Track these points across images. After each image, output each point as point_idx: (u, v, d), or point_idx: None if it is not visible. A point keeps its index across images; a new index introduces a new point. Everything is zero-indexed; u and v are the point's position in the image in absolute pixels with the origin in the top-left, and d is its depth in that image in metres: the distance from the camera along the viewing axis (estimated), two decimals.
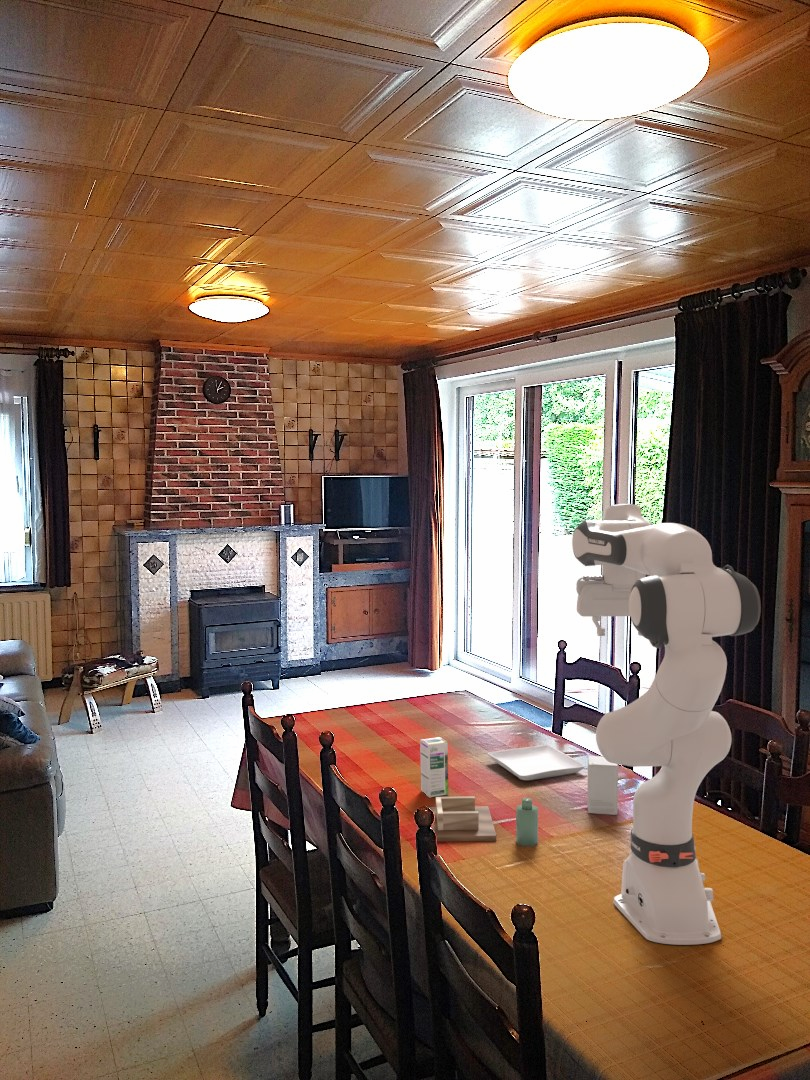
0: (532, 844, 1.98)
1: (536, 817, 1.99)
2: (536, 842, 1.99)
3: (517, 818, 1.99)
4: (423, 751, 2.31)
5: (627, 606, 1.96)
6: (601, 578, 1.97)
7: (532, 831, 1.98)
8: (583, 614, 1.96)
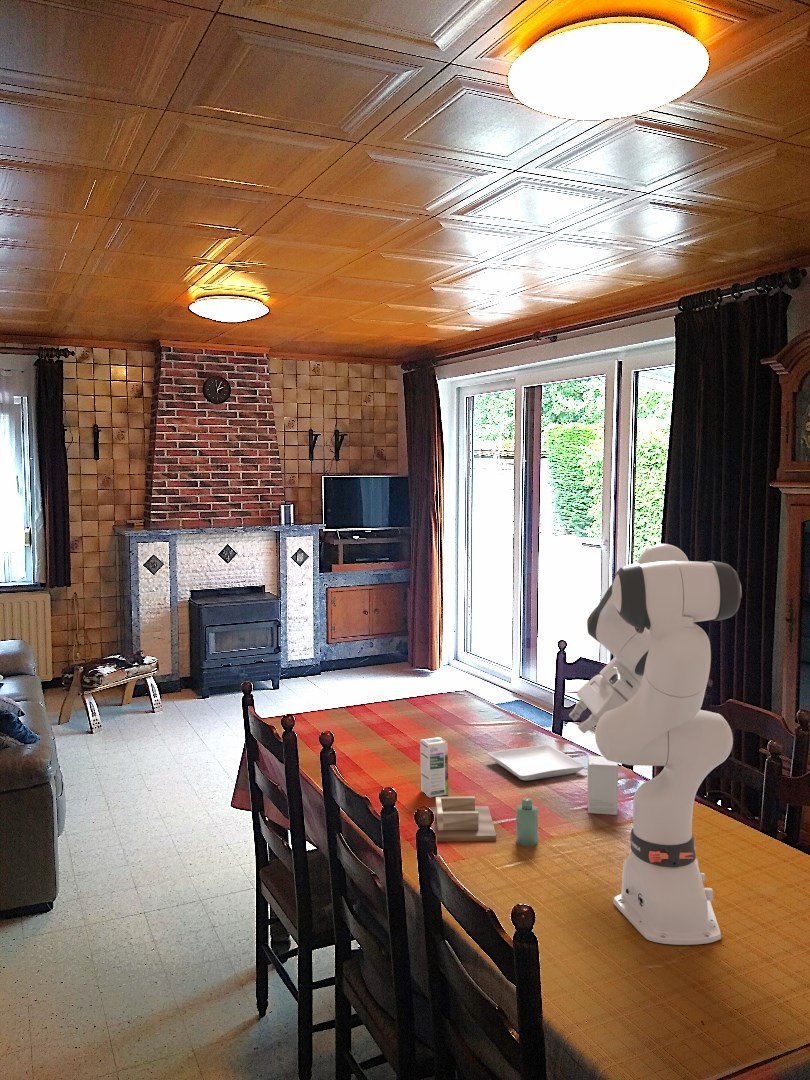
0: (532, 844, 1.98)
1: (536, 817, 1.99)
2: (536, 842, 1.99)
3: (517, 818, 1.99)
4: (423, 751, 2.31)
5: (592, 698, 1.98)
6: None
7: (532, 831, 1.98)
8: None
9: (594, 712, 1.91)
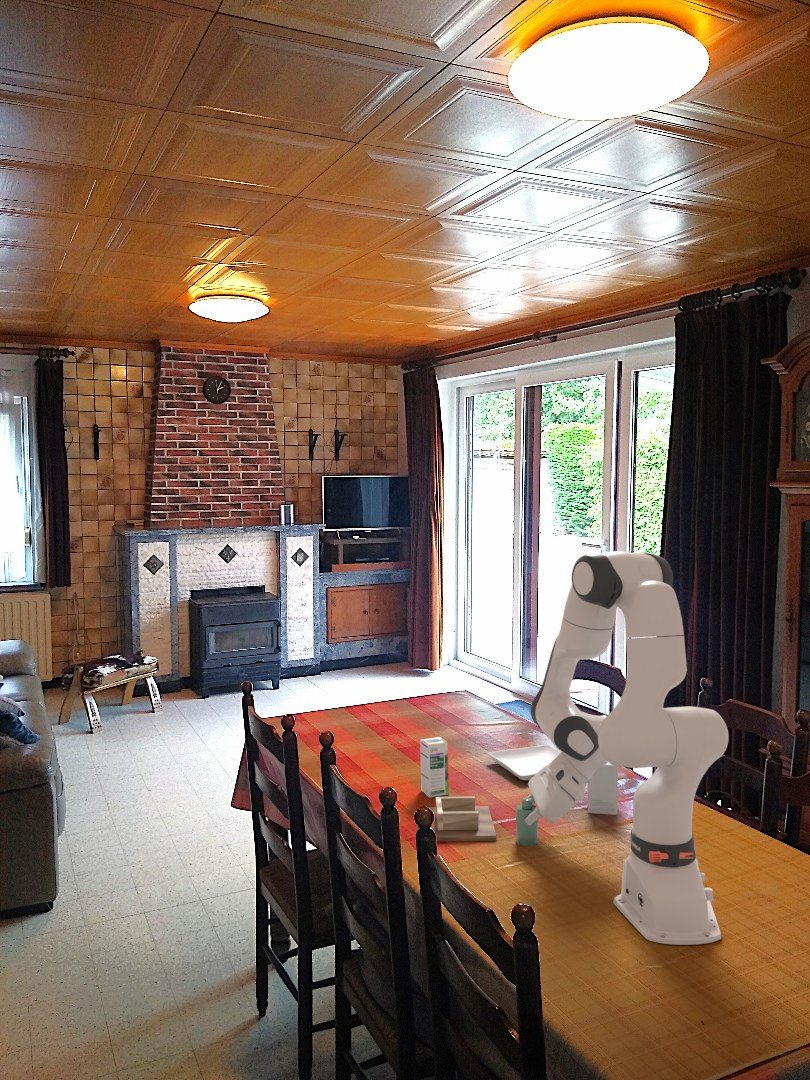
0: (532, 844, 1.98)
1: None
2: (536, 842, 1.99)
3: (517, 818, 1.99)
4: (423, 751, 2.31)
5: (540, 791, 1.99)
6: None
7: (532, 830, 1.98)
8: None
9: (539, 809, 1.92)
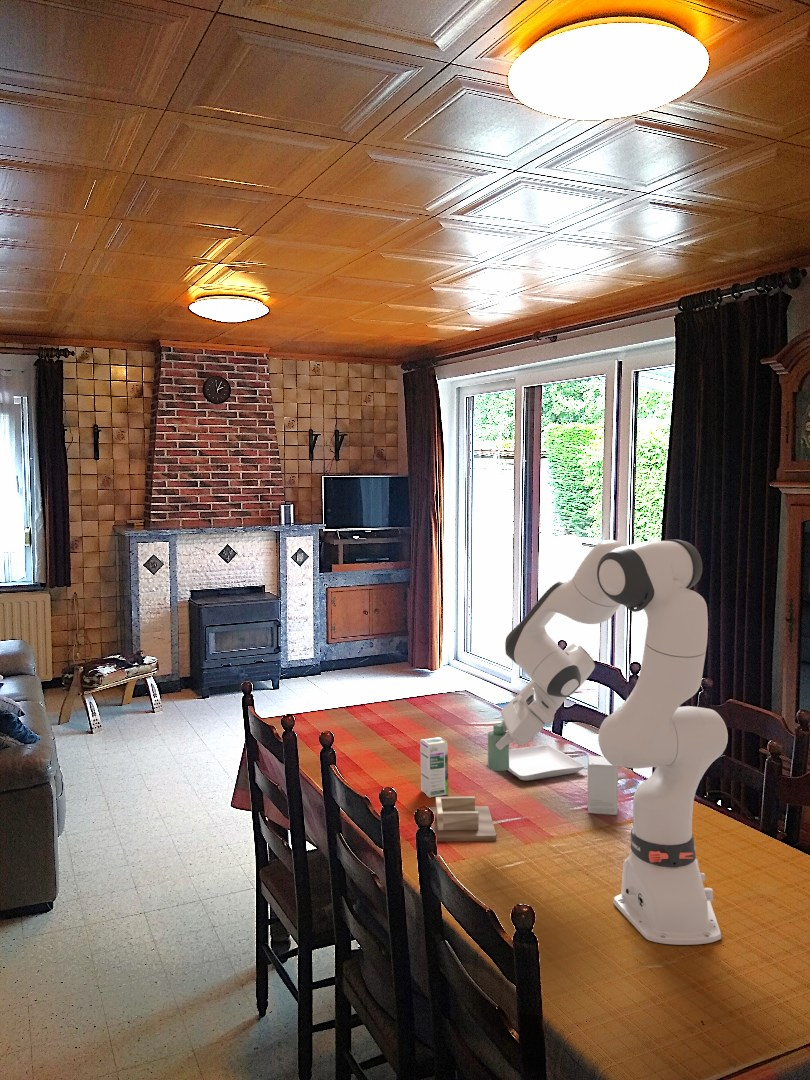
0: (503, 768, 2.02)
1: None
2: (507, 767, 2.02)
3: (488, 743, 2.03)
4: (423, 751, 2.31)
5: (511, 717, 2.02)
6: None
7: (503, 755, 2.01)
8: None
9: (509, 732, 1.95)
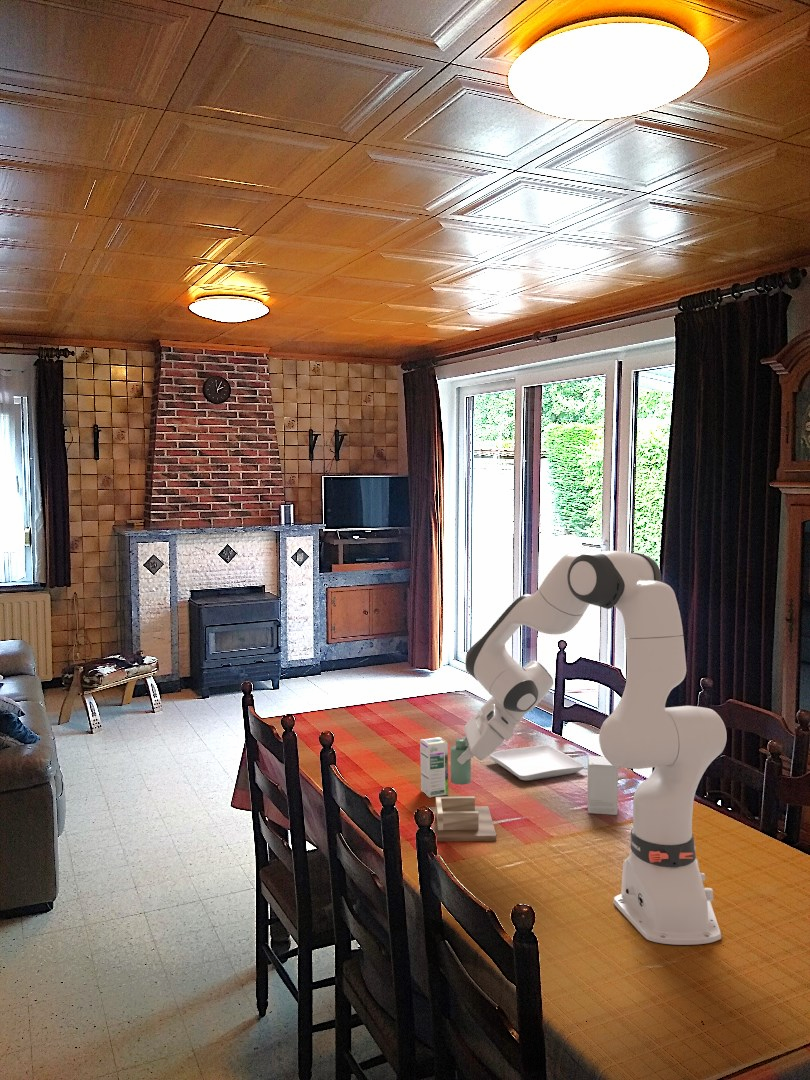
0: (465, 782, 2.07)
1: None
2: (469, 781, 2.08)
3: (451, 758, 2.08)
4: (423, 751, 2.31)
5: (473, 733, 2.08)
6: None
7: (465, 769, 2.07)
8: None
9: (470, 747, 2.01)
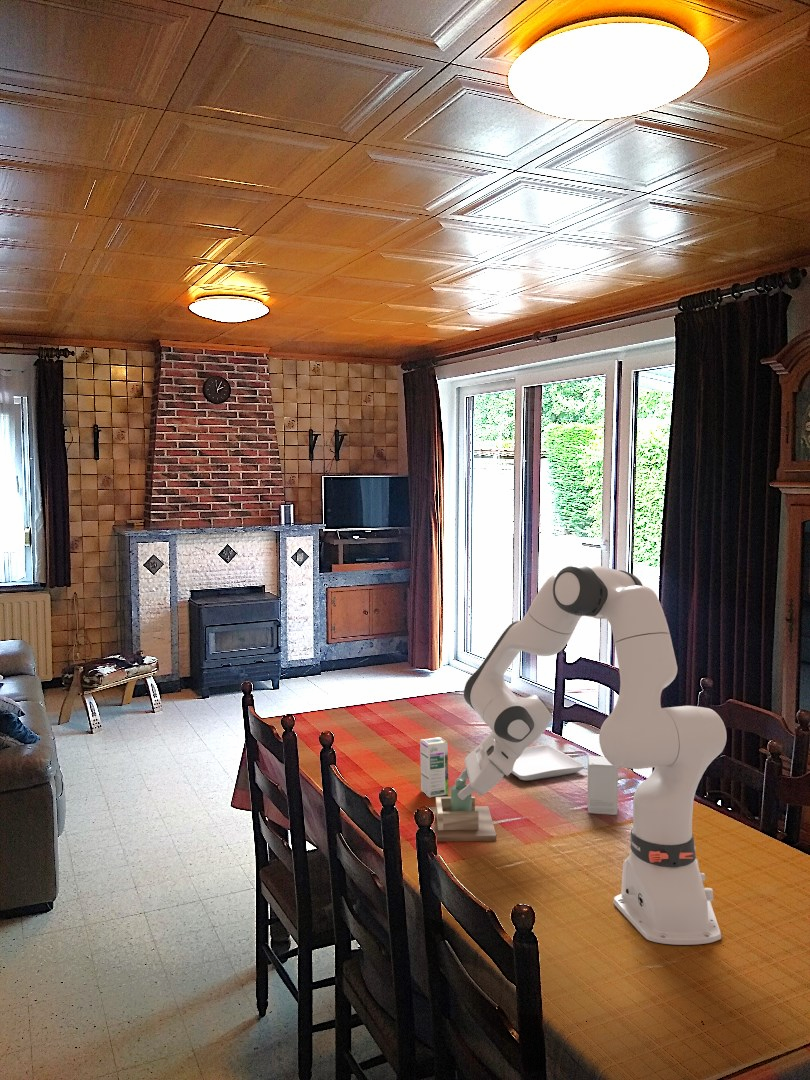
0: None
1: (469, 796, 2.09)
2: None
3: (451, 797, 2.09)
4: (423, 751, 2.31)
5: (473, 767, 2.09)
6: None
7: (465, 809, 2.08)
8: (465, 759, 2.19)
9: (470, 782, 2.02)
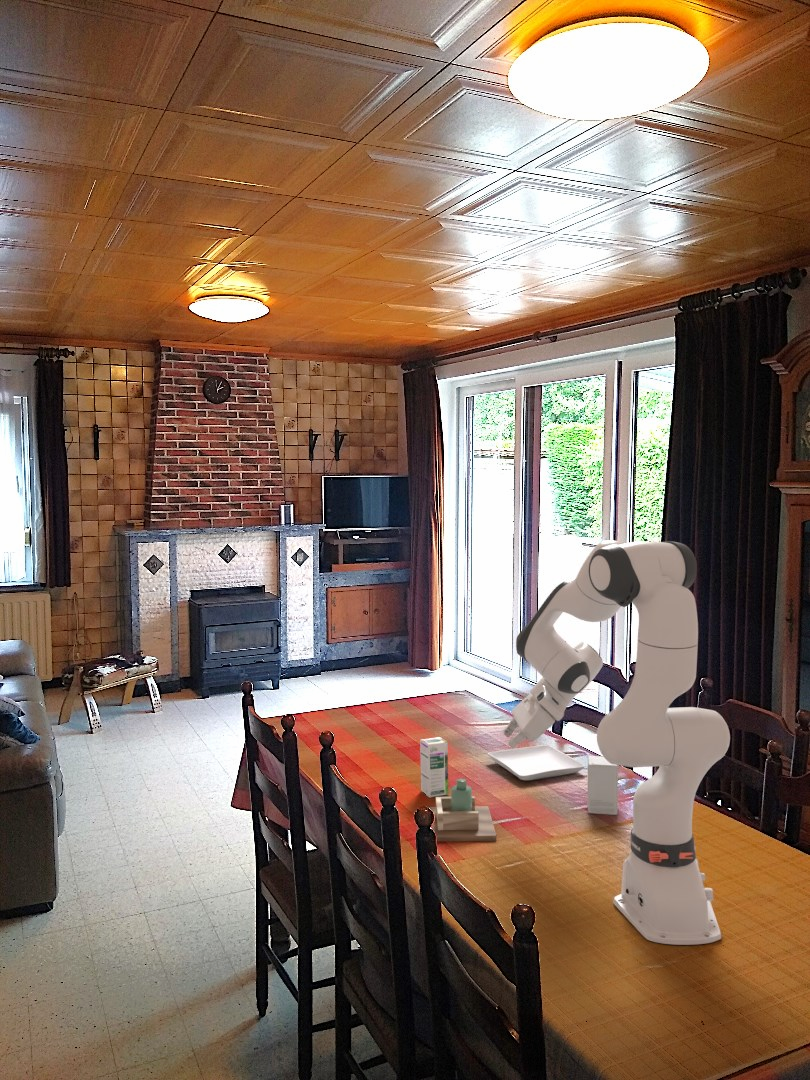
0: None
1: (470, 797, 2.08)
2: None
3: (452, 798, 2.09)
4: (423, 751, 2.31)
5: (522, 715, 2.08)
6: None
7: (466, 810, 2.08)
8: None
9: (521, 728, 2.01)
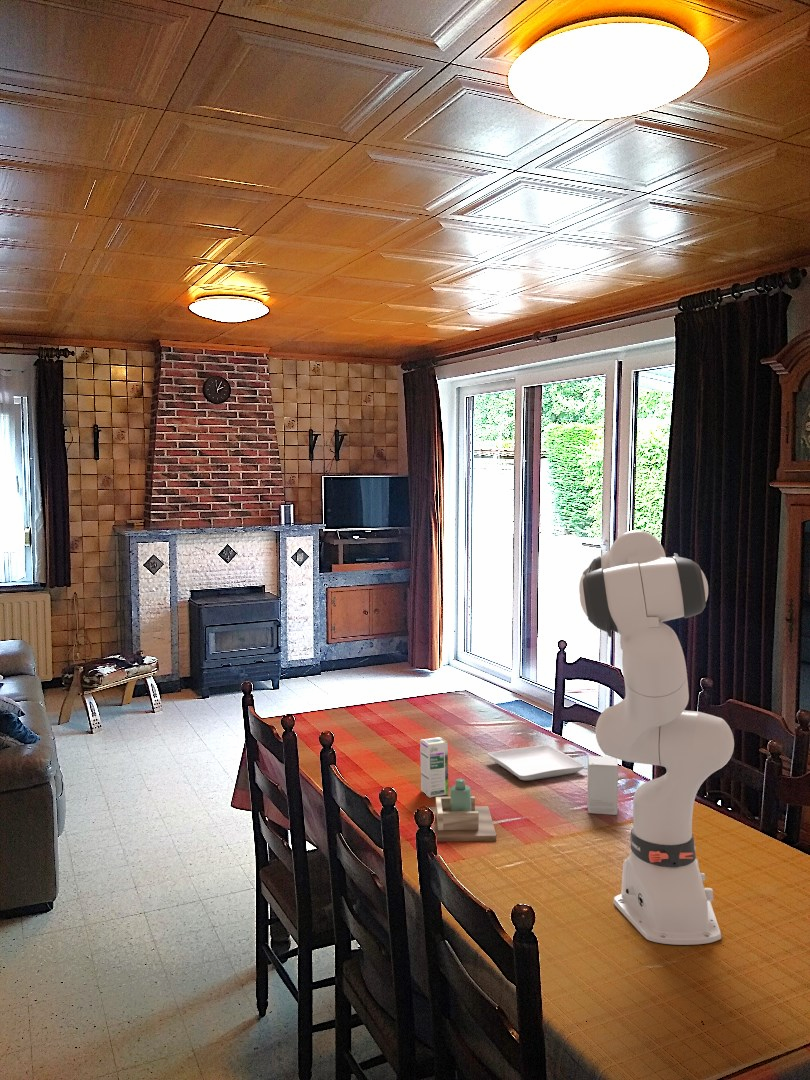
0: None
1: (469, 796, 2.08)
2: None
3: (451, 798, 2.09)
4: (423, 751, 2.31)
5: None
6: None
7: (466, 809, 2.08)
8: None
9: None
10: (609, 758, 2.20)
